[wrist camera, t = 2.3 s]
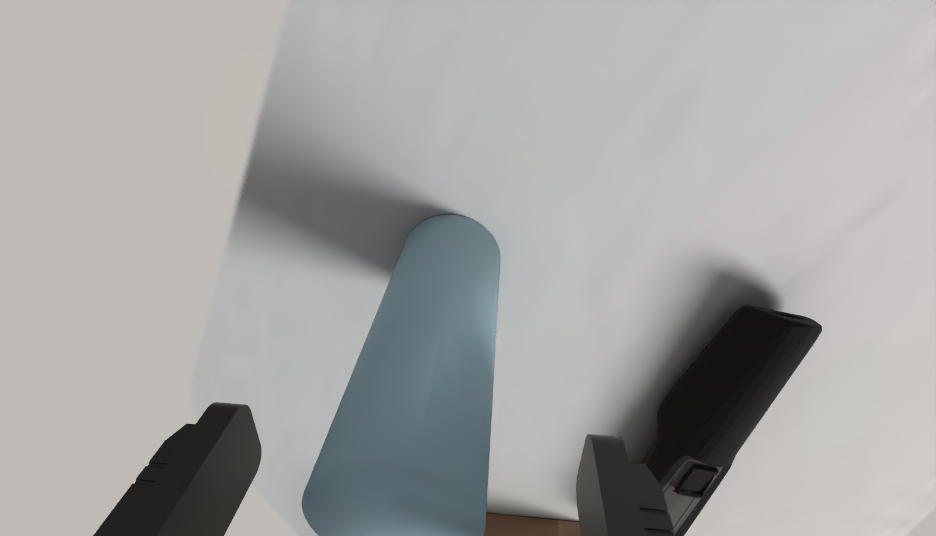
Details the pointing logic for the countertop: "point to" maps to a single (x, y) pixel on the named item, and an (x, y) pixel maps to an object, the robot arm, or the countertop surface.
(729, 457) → the electric trimmer
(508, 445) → the countertop surface
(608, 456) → the robot arm
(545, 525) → the socket block
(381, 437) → the peg
